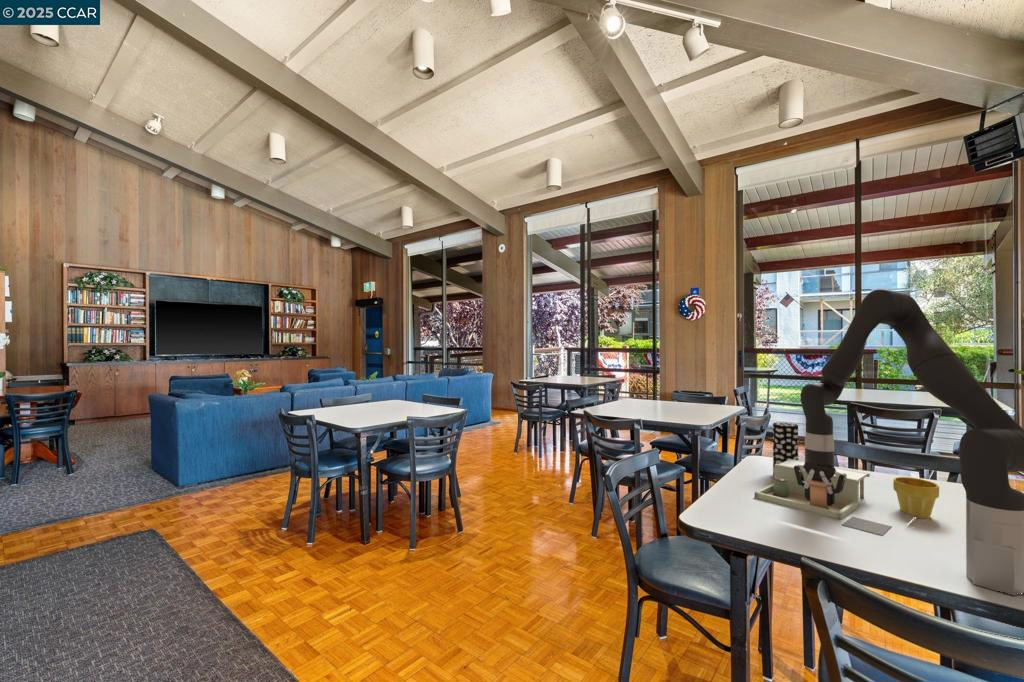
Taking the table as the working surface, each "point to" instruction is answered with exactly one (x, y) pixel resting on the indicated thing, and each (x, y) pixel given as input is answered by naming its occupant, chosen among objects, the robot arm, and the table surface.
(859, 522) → the slate tile
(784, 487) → the green plastic pot
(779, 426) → the white-spotted black cylinder
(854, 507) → the tray with back shelf
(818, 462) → the robot arm
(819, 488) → the terracotta pot
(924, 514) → the plant pot
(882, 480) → the table surface
